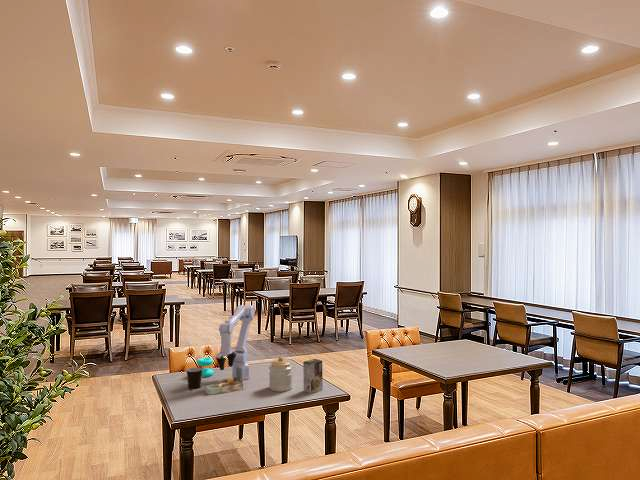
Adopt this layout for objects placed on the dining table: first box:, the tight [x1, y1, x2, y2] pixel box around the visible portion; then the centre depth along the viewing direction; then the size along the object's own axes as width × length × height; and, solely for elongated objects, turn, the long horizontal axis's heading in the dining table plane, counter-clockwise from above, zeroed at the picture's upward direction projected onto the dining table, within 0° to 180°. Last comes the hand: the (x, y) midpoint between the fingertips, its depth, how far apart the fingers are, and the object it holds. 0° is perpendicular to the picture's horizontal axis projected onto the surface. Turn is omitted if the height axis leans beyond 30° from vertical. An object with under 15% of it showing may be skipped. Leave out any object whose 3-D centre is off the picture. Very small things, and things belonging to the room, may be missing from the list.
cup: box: [204, 383, 222, 396], centre depth 249 cm, size 6×7×3 cm
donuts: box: [196, 357, 214, 378], centre depth 281 cm, size 10×10×10 cm
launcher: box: [215, 378, 244, 394], centre depth 255 cm, size 12×9×4 cm
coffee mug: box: [186, 367, 203, 390], centre depth 259 cm, size 12×9×10 cm
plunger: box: [234, 367, 242, 382], centre depth 258 cm, size 3×5×7 cm, turn 34°
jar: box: [268, 356, 293, 393], centre depth 256 cm, size 13×13×18 cm
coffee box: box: [302, 358, 324, 394], centre depth 253 cm, size 9×6×16 cm
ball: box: [227, 376, 234, 383], centre depth 255 cm, size 4×4×4 cm
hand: (226, 368), depth 260 cm, fingers open, 7 cm apart
